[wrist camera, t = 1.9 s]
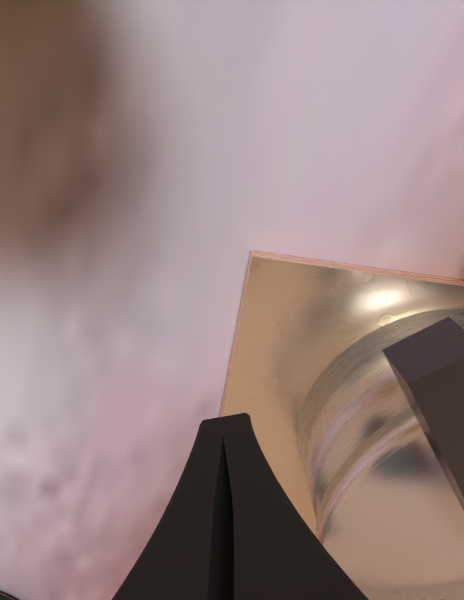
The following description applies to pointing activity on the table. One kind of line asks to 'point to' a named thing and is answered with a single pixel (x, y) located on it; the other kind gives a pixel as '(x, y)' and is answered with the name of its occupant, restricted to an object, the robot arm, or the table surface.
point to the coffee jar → (5, 597)
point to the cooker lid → (407, 481)
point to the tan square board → (324, 360)
